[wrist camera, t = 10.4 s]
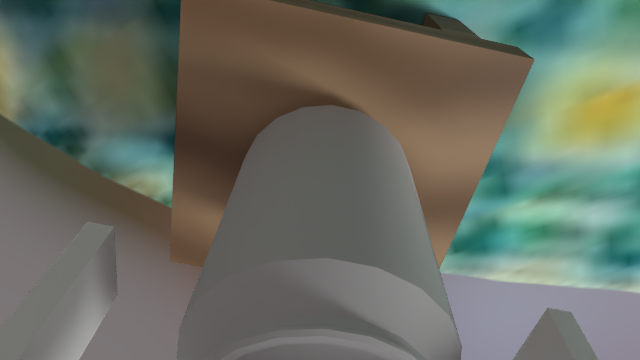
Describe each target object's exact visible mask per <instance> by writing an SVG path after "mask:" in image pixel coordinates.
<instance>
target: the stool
mask: <svg viewBox="0 0 640 360" xmlns="http://www.w3.org/2000/svg"><path fill="white" fill-rule="evenodd" d="M534 60H535V59H533V58H532V57H530V56H529V55H528V54H526V53H525V52H523V51H522V50H521V49H519V48H518V47H515V46H511V45H506V44H502V43H497V42H493V41H488V40H484V39H481V38H480V37H478V36H477V35H476V34H475V33H474V32H472V31H471V30H470V29H469V28H468V27H466V26H465V25H464V24H463V23H462V22H460V21H459V20H456V19H451V18H447V17H443V16H438V15H434V14H429V13H426V16H425V19H424V22H423V26H422V25H417V24H413V23H408V22H404V21H399V20H395V19H391V18H386V17H382V16H377V15H373V14H368V13H364V12H359V11H355V10H351V9H346V8H342V7H337V6H333V5H328V4H324V3H319V2H315V1H311V0H181V11H180V34H179V57H178V81H177V104H176V127H175V150H174V174H173V197H172V220H171V221H172V222H171V244H170V245H171V246H170V261H172V262H178V263H184V264H190V265H195V266H201V267H203V265H204V263H205V260H206V257H207V255H208V252H209V250H210V247H211V244H212V242H213V239H214V237H215V234H216V231H217V229H218V226H219V224H220V221H221V218H222V216H223V213H224V211H225V208H226V205H227V203H228V200H229V198H230V195H231V192H232V190H233V187H234V185H235V182H236V179H237V177H238V174H239V172H240V169H241V166H242V164H243V161H244V159H245V156H246V154H247V152H248V151H249V149H250V147H251V145H252V144H253V142H254V140H255V138H256V136H257V135H258V134H259V133H260V132H261V131H262V130H264V129H265V128H266V127H267V126H268V125H269V124H271V123H272V122H273V121H274V120H275V119H276V118H278V117H280V116H283V115H285V114H288V113H290V112H293V111H295V110H298V109H300V108H302V107H313V106H325V105H334V106H339V107H343V108H348V109H353V110H357V111H361V112H362V113H364V114H366V115H367V116H369V117H371V118H373V119H374V120H376V121H378V122H380V123H381V124H383V125H384V126H385V127H386V128H387V129H388V130H389V131H390V133H391V134H392V135H393V136H394V137H395V138H396V139H397V141H398V142H399V143H400V144H401V146H402V149H403V151H404V154H405V157H406V159H407V162H408V164H409V167H410V170H411V174H412V177H413V181H414V184H415V188H416V191H417V194H418V198H419V201H420V205H421V208H422V212H423V215H424V218H425V222H426V225H427V229H428V232H429V236H430V239H431V242H432V246H433V249H434V253H435V256H436V260H437V263H438V266H439V269H440V266H441V264H442V262H443V260H444V258H445V255H446V253H447V251H448V249H449V247H450V244H451V242H452V240H453V238H454V236H455V233H456V231H457V229H458V227H459V225H460V222H461V220H462V218H463V216H464V214H465V211H466V209H467V207H468V205H469V203H470V200H471V198H472V196H473V194H474V192H475V189H476V187H477V185H478V183H479V181H480V178H481V176H482V174H483V172H484V170H485V167H486V165H487V163H488V161H489V159H490V156H491V154H492V152H493V150H494V148H495V145H496V143H497V141H498V139H499V137H500V134H501V132H502V130H503V128H504V126H505V123H506V121H507V119H508V117H509V115H510V112H511V110H512V108H513V106H514V104H515V101H516V99H517V97H518V95H519V93H520V90H521V88H522V86H523V84H524V82H525V79H526V77H527V75H528V73H529V71H530V68H531V66H532V64H533V62H534Z"/></svg>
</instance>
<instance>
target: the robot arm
mask: <svg viewBox="0 0 640 360" xmlns="http://www.w3.org/2000/svg"><path fill="white" fill-rule="evenodd" d="M116 296H117V273H116V250H115V228H114V227H112V226H107V225H101V224H96V223H91V222H87V223H86V224H85V225H84V226H83V228H82V229H81V230H80V231H79V232H78V234H77V235H76V236H75V237H74V239H73V240H72V241H71V242H70V243H69V244H68V246H67V247H66V248H65V249H64V251H63V252H62V253H61V254H60V255H59V257H58V258H57V259H56V260H55V261H54V263H53V264H52V265H51V266H50V268H49V269H48V270H47V271H46V272H45V273H44V275H43V276H42V277H41V278H40V280H39V281H38V282H37V283H36V285H35V286H34V287H33V288H32V289H31V290H30V291H29V293H28V294H27V295H26V296H25V298H24V299H23V300H22V301H21V302H20V304H19V305H18V306H17V307H16V308H15V310H14V311H13V312H12V313H11V314H10V316H9V317H8V318H7V319H6V320H5V322H4V323H3V324H2V325H1V326H0V360H79V359H80V357H81V355H82V354H83V352H84V350H85V349H86V347H87V345H88V343H89V342H90V340H91V338H92V337H93V335H94V333H95V332H96V330H97V328H98V327H99V325H100V323H101V322H102V320H103V318H104V316H105V315H106V313H107V311H108V310H109V308H110V306H111V305H112V303H113V301H114V300H115V298H116ZM513 360H598V358H597V357H596V355H595V353H594V351H593V350H592V348H591V346H590V344H589V342H588V341H587V339H586V337H585V335H584V334H583V332H582V330H581V329H580V327H579V325H578V323H577V321H576V320H575V318H574V316H573V315H572V313H571V312H567V311H562V310H557V309H551V308H547V310H546V311H545V313H544V314H543V315H542V317H541V318H540V320H539V322H538V323H537V324H536V326H535V327H534V329H533V330H532V332H531V333H530V335H529V337H528V338H527V339H526V341H525V342H524V344H523V345H522V347H521V348H520V350H519V351H518V353H517V354H516V356H515V357H514V359H513Z"/></svg>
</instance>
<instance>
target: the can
mask: <svg viewBox="0 0 640 360" xmlns="http://www.w3.org/2000/svg"><path fill="white" fill-rule="evenodd" d="M461 349H462V345H461V342H460V338H459V335H458V332H457V328H456V325H455V322H454V318H453V314H452V311H451V308H450V305H449V301H448V297H447V294H446V291H445V287H444V284H443V280H442V277H441V273H440V270H439V266H438V263H437V260H436V256H435V253H434V249H433V246H432V242H431V239H430V236H429V232H428V229H427V225H426V222H425V218H424V215H423V212H422V208H421V205H420V201H419V198H418V194H417V191H416V188H415V184H414V181H413V177H412V174H411V170H410V167H409V164H408V162H407V159H406V157H405V154H404V151H403V149H402V146H401V144H400V143H399V142H398V141H397V139H396V138H395V137H394V136H393V135H392V134H391V133H390V131H389V130H388V129H387V128H386V127H385V126H384V125H383V124H381V123H380V122H378V121H376V120H374V119H373V118H371V117H369V116H367V115H366V114H364V113H362V112H361V111H357V110H353V109H348V108H343V107H339V106H334V105H325V106H313V107H302V108H300V109H298V110H295V111H293V112H290V113H288V114H285V115H283V116H280V117H278V118H276V119H275V120H274V121H273V122H272V123H271V124H269V125H268V126H267V127H266V128H265V129H264V130H262V131H261V132H260V133H259V134H258V135H257V136H256V138H255V140H254V142H253V144H252V145H251V147H250V149H249V151H248V152H247V154H246V156H245V159H244V161H243V164H242V166H241V169H240V172H239V174H238V177H237V179H236V182H235V185H234V187H233V190H232V192H231V195H230V198H229V200H228V203H227V205H226V208H225V211H224V213H223V216H222V218H221V221H220V224H219V226H218V229H217V231H216V234H215V237H214V239H213V242H212V244H211V247H210V250H209V252H208V255H207V257H206V260H205V263H204V265H203V268H202V271H201V273H200V276H199V278H198V281H197V283H196V286H195V289H194V291H193V294H192V296H191V299H190V302H189V304H188V307H187V309H186V312H185V315H184V317H183V320H182V323H181V325H180V328H179V339H178V352H177V359H178V360H461Z"/></svg>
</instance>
